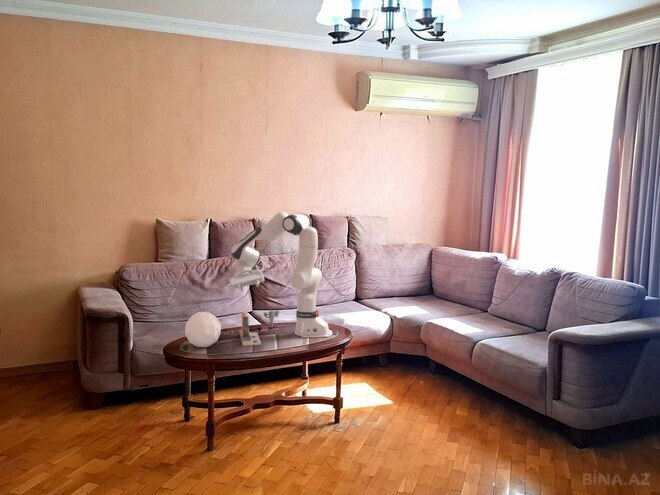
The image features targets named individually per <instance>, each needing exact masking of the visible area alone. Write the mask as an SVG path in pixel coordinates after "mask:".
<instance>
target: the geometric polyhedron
mask: <svg viewBox="0 0 660 495" xmlns="http://www.w3.org/2000/svg"><path fill="white" fill-rule="evenodd" d="M221 328H222V324H221V323H220V320H219V319H218V318H217V317H216V316H215V315H213V314H212V313H211V312H209V311H207V312H206V311H198V312H196V313H194V314H193V315H191V316H190V317H189V318H188V320H187V321H186V324H185V328H184V330H185V331H184V335H185V337H186V338H187V340H188V342H189V343H190V344H192V345H194V346H195V347H196V348H209V347H210V346H212V345H213V344H215V343H216V342H217V341H218V340H219V338H220V336H221Z"/></svg>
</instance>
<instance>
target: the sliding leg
mask: <svg viewBox="0 0 660 495" xmlns="http://www.w3.org/2000/svg"><path fill="white" fill-rule="evenodd" d="M244 316H248V312H247V311H242V312H241V329H239V337H240V336H241V335H243V317H244Z"/></svg>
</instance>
